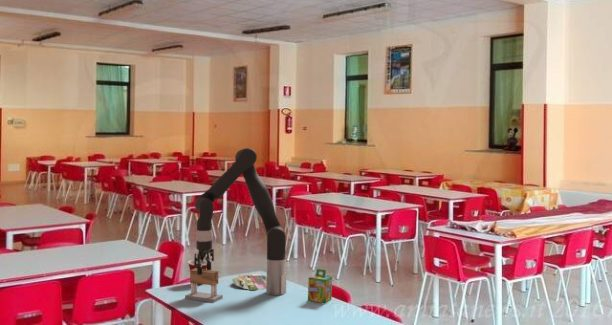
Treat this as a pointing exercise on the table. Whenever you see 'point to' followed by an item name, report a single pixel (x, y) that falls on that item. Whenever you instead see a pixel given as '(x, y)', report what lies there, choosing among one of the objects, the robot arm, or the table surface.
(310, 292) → the green yellow handled box
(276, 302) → the table surface
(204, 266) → the plastic cup
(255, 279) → the city model
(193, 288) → the peg rack
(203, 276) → the brown wooden block
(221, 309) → the table surface
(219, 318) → the table surface
